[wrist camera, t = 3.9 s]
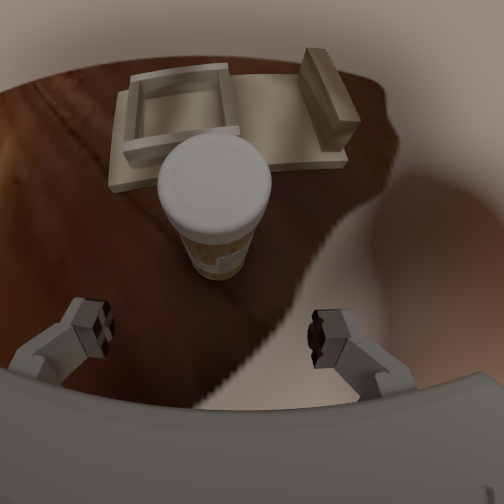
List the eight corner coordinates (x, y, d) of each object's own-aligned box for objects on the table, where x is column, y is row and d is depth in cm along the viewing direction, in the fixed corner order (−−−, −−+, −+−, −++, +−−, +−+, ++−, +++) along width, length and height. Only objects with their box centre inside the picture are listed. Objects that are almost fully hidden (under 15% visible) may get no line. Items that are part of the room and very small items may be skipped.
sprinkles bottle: (180, 245, 24) (137, 160, 10) (227, 218, 24) (233, 113, 11) (209, 292, 23) (190, 256, 10) (257, 263, 24) (297, 194, 11)
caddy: (113, 193, 24) (86, 157, 18) (121, 100, 27) (106, 60, 20) (342, 168, 27) (370, 131, 21) (311, 84, 29) (326, 44, 23)
